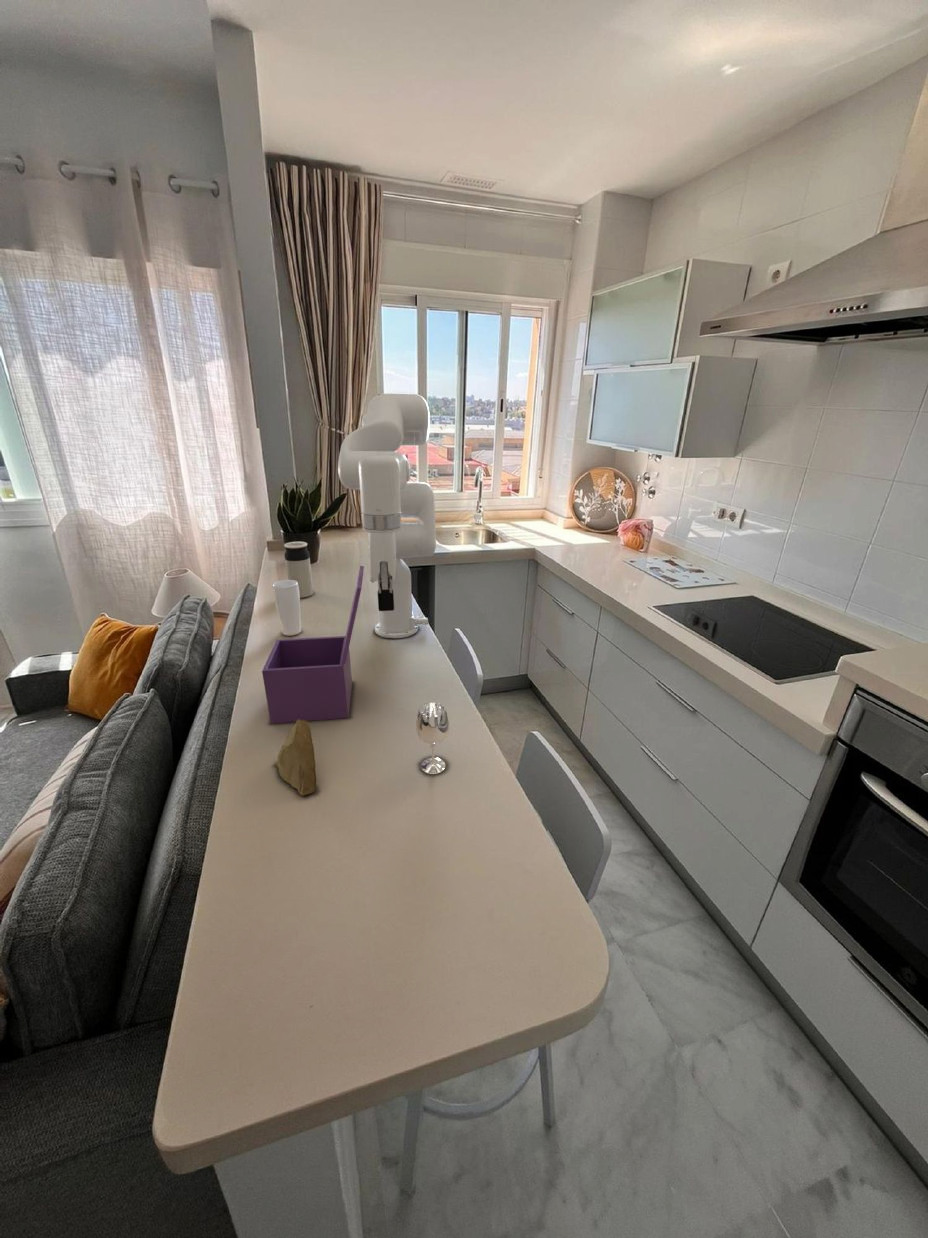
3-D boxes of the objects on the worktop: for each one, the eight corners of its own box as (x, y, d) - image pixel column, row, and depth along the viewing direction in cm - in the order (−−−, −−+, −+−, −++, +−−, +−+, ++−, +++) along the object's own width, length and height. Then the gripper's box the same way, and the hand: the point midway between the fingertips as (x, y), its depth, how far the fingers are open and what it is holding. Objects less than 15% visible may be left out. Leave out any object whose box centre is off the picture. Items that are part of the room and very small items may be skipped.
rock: (330, 785, 81) (336, 741, 90) (292, 757, 77) (301, 715, 86) (282, 816, 84) (292, 770, 92) (242, 791, 80) (257, 746, 88)
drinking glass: (296, 638, 139) (290, 588, 134) (274, 636, 141) (267, 586, 135) (308, 629, 146) (302, 580, 140) (287, 627, 147) (280, 578, 141)
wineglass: (453, 759, 91) (453, 704, 87) (442, 779, 86) (441, 722, 82) (424, 753, 93) (423, 698, 89) (412, 772, 88) (410, 715, 83)
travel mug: (309, 598, 169) (303, 547, 162) (286, 598, 169) (279, 546, 162) (316, 590, 176) (310, 541, 170) (294, 590, 177) (287, 541, 170)
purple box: (270, 723, 101) (261, 670, 97) (283, 687, 115) (276, 639, 110) (348, 718, 104) (343, 665, 99) (352, 683, 117) (348, 635, 112)
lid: (357, 587, 93) (361, 588, 93) (360, 565, 106) (363, 566, 107) (341, 663, 99) (345, 664, 99) (346, 633, 112) (349, 634, 112)
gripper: (363, 515, 103) (369, 598, 109) (360, 530, 89) (367, 624, 96) (399, 514, 104) (403, 596, 111) (402, 529, 90) (406, 622, 97)
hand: (386, 609), depth 103 cm, fingers closed
